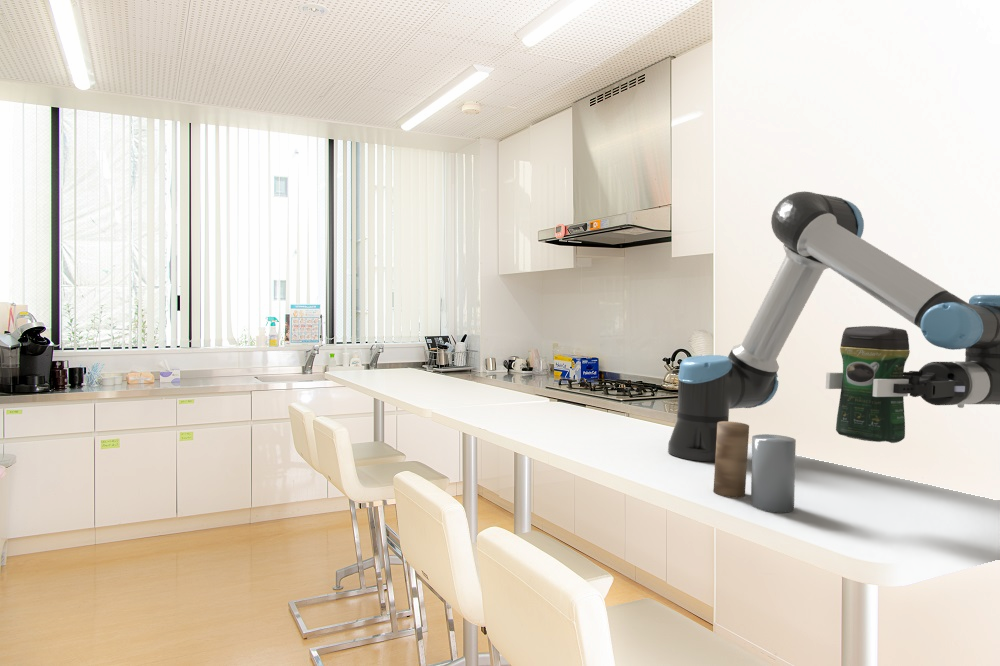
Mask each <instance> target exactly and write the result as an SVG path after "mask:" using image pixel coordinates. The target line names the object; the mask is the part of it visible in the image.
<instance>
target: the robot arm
mask: <svg viewBox="0 0 1000 666" xmlns="http://www.w3.org/2000/svg"><path fill="white" fill-rule="evenodd" d="M770 220H771V222H770V224H771V230H772V232H773V234H774V236H775V237H776V239H778V240H779V242H781V243H782V245H783V246H782V247H783V250H784V253H785V256H784V259H783V261H782V262H781V265H780V267H779V269H778V271H777V272H776V275H775V277H774V279H773V280H772V282H771V285H770V287H769V288H768V290H767V293H766V295H765V297H764V298H763V301H762V303H761V304H760V307H759V309H758V310H757V313H756V315H755V317H754V318H753V320H752V322H751V325H750V326H749V329H748V331H747V333H746V335H745V336H744V338H743V341H742V343H741V344H737V345H733V347H732V348H731V350H730V352H729V354H728V355H727V356H726V355H720V354H719V355H718V354H708V355H705V354H704V355H702V354H701V355H694V356H689V357H686V358H684V359H682V360H681V362H680V363H679V370H678V375H677V380H678V383H677V386H678V387H677V388H678V389H677V414H676V415H677V417H676V422H675V425H674V428H673V429H672V432H671V436H670V439H669V441H668V447H667V448H668V449H667V452H668V453H669V454H670V455H672V456H675V457H676V458H677V457H678V458H681V459H685V460H692V461H699V462H709V463H710V462H713V463H715V456H716V439H717V423H718V422H722V421H729V419H730V417H729V416H730V414H729V413H730V410H731V409H732V410H733V409H751V408H753V409H754V408H757V407H760V406H763V405H765V404H767V403H769V402H770V401H771V400H772V399H773V398H774V396H776V394H777V391H778V387H779V380H778V377H779V376H778V371H779V369H780V366H779V364H778V361H777V359H778V357H779V355H780V352H781V351H782V349H783V348H784V345H785V343H786V342H787V340H788V338H789V337H790V334H791V332H792V330H793V329H794V327H795V325H796V323H797V321H798V319H799V317H800V315H801V313H802V312H803V310H804V308H805V307H806V304H807V303H808V300H809V298H810V297H811V295H812V293H813V291H814V289H815V288H816V285H817V284H818V282H819V280H820V278H821V276H822V275H823V273H824V271H825V270H828V269H831V270H832V271H834V272H835V273H837V274H838V275H839V276H841V277H843V278H844V279H846V280H847V281H849V282H851V283H852V284H853V285H854V286H856V287H857V288H859V289H861V290H862V291H864V292H866V293H867V294H868V295H870V296H871V297H873V298H874V299H875V300H877V301H878V302H880V303H881V304H883V305H885V306H886V307H887V308H889V309H891V310H892V311H893V312H895V313H896V314H898V315H900V316H901V317H902V318H904V319H906V320H907V321H908V322H910V323H912V324H913V325H915V326H916V327H917V328H919V329H920V331H921V333H922V336H923V337H924V339H925V340H926V341H927V342H928V343H930V344H931V345H933V346H936V347H939V348H943V349H945V350H953V351H954V350H964V349H965V353H964V355H965V360H964V361H962V360H961V361H957V360H956V361H954V360H953V361H930V362H928V363H926V364H924V365H923V366H922V367H920V369H919V370H909V371H904V373H903V379H874V381H873V396H874V397H900V396H903V397H908V395H909V396H910V397H912V398H917V397H920V398H921V399H923V400H924V402H927V403H928V404H930V405H933V406H954V405H956V406H957V408H959V409H963V408H964V407H965V405H996V406H997V405H1000V294H978V295H977V294H976V295H975V294H974V295H972V296H971V297H970V298H969V299H968V302H967V301H965V300H964V299H961V298H960V297H958V296H957V295H955V294H954V293H951V292H950V291H948V290H947V289H945V288H944V287H942V286H940V285H939V284H937V283H935V282H933V281H932V280H930V279H929V278H928V277H926V276H924V275H923V274H920V273H919V272H917V271H916V270H914V269H912V268H910V267H909V266H907V265H906V264H905V263H902V262H901V261H900V260H897V259H896V258H894V257H893V256H891V255H889V254H888V253H886V252H884V251H883V250H881V249H879V248H878V247H876V246H875V245H873V244H871V243H869V242H868V241H866V240H864V238H862V237H863V235H864V234H863V233H864V229H865V222H864V218H863V215H862V212H861V210H860V209H859V208H858V206H857V205H855V204H854V203H853V202H851V201H849V200H846V199H843V198H842V197H838V196H834V195H833V196H832V195H828V194H827V195H826V194H822V193H815V192H812V191H796V192H794V193H791V194H788V195H787V196H786V197H783V198H782V199H781V200H780V201H779V202H778V204H777V205H776V206H775V208H774V209H773V212H772V215H771V219H770ZM825 375H826V376H825V390H827V389H828V390H841V386H842V378H843V372H826V373H825Z"/></svg>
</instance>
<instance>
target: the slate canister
mask: <svg viewBox="0 0 1000 666" xmlns="http://www.w3.org/2000/svg"><path fill="white" fill-rule="evenodd" d="M751 440H752V441H751V443H752V444H751V480H750V481H751V482H750V483H751V487H750V488H751V489H750V492H751V493H750V505H751V507H753V508H755V509H757V510H760V511H763V512H769V513H776V514H777V513H778V514H780V513H781V514H783V513H791V512H793V511H794V510H795V490H796V489H795V487H796V446H797V445H796V444H797V443H796V442H797V441H796V439H795V438H794V437H790V436H787V435H779V434H766V433H765V434H764V433H763V434H755V435H752V439H751Z"/></svg>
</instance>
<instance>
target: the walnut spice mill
mask: <svg viewBox="0 0 1000 666" xmlns="http://www.w3.org/2000/svg"><path fill="white" fill-rule="evenodd" d="M749 434H750V425H749V424H748V423H743V422H738V421H729V420H728V421H722V422H718V423H717V439H716V456H715V462H714V473H713V475H714V477H713V490H712V491H713V493H714V494H717V495H719V496H722V497H727V498H743V497H745V496H746V484H747V471H748V470H747V469H748V468H747V466H748V451H749V439H750V438H749V436H750V435H749Z"/></svg>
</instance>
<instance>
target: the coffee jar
mask: <svg viewBox="0 0 1000 666" xmlns="http://www.w3.org/2000/svg"><path fill="white" fill-rule="evenodd" d="M840 341H841V342H840V347H839V351H840V355H841V360H842V373H843V378H842V386H841V389H840V394H839V395H840V396H839V403H838V409H837V414H836V425H835V431H836V433H837V434H838V435H840V436H844V437H847V438H850V439H854V440H855V439H856V440H859V441H867V442H876V443H881V442H883V443H884V442H886V443H887V442H888V443H891V444H896V443H900V442H902V441H903V440H904V439H905V437H906V420H905V419H906V418H905V403H904V400H905V399H904V396H900V397H874V396H873V381H874V379H903V376H904V375H903V373H904V372H905V371H904V369H905V365H906V363H907V360H908V358H909V355H910V353H911V352H910V342H909V334H908V332H907V330H906V329H903V328H897V327H888V326H879V325H878V326H877V325H876V326H875V325H863V326H860V325H859V326H850V327H849V326H847V327H845V329H844V330H843V333H842V337H841V340H840Z"/></svg>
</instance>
